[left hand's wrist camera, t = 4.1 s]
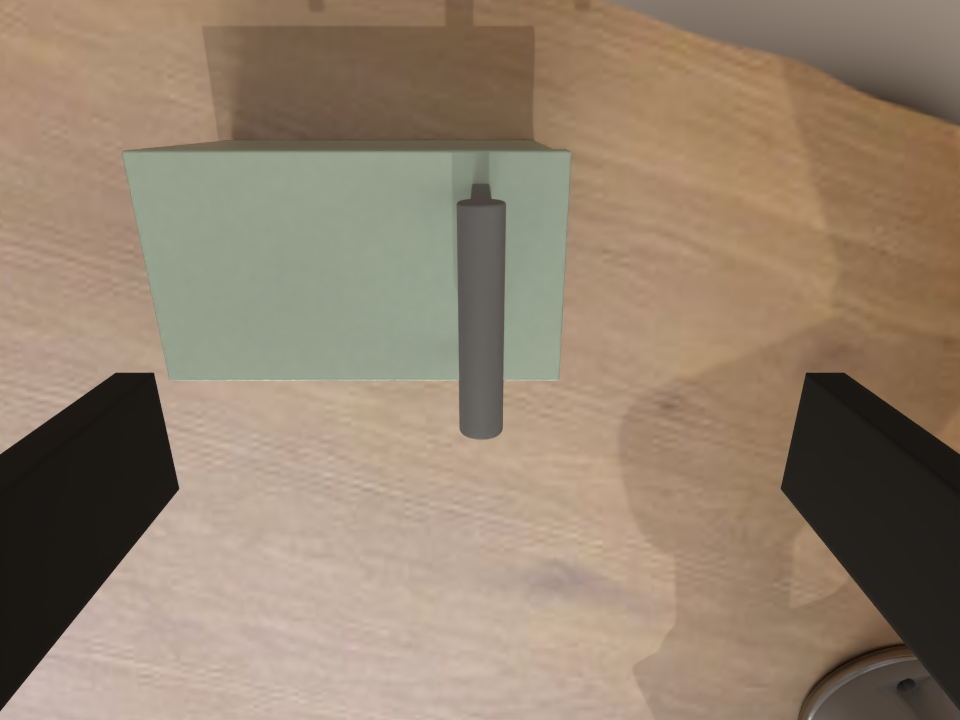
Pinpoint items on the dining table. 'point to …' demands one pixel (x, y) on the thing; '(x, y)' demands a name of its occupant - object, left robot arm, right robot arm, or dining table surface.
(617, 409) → the dining table surface
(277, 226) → the lid
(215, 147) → the chest
